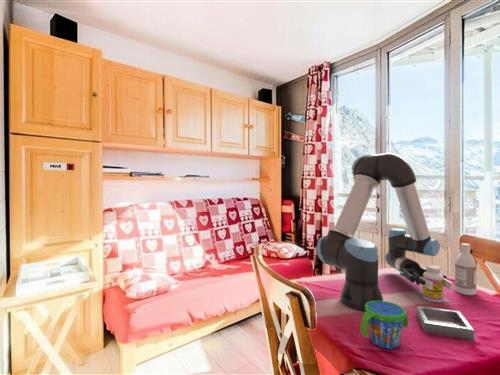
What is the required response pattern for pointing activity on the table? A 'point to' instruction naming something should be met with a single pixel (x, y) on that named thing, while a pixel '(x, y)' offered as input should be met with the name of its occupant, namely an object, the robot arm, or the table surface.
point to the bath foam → (465, 272)
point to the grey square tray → (444, 322)
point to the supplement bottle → (437, 280)
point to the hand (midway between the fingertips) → (441, 286)
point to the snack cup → (384, 323)
